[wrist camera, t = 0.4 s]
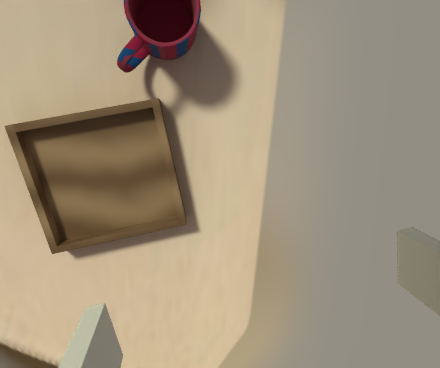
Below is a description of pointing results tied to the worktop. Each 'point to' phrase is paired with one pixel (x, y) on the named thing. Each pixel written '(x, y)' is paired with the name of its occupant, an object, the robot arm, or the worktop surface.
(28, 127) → the tray
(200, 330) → the worktop surface
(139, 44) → the mug
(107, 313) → the robot arm
